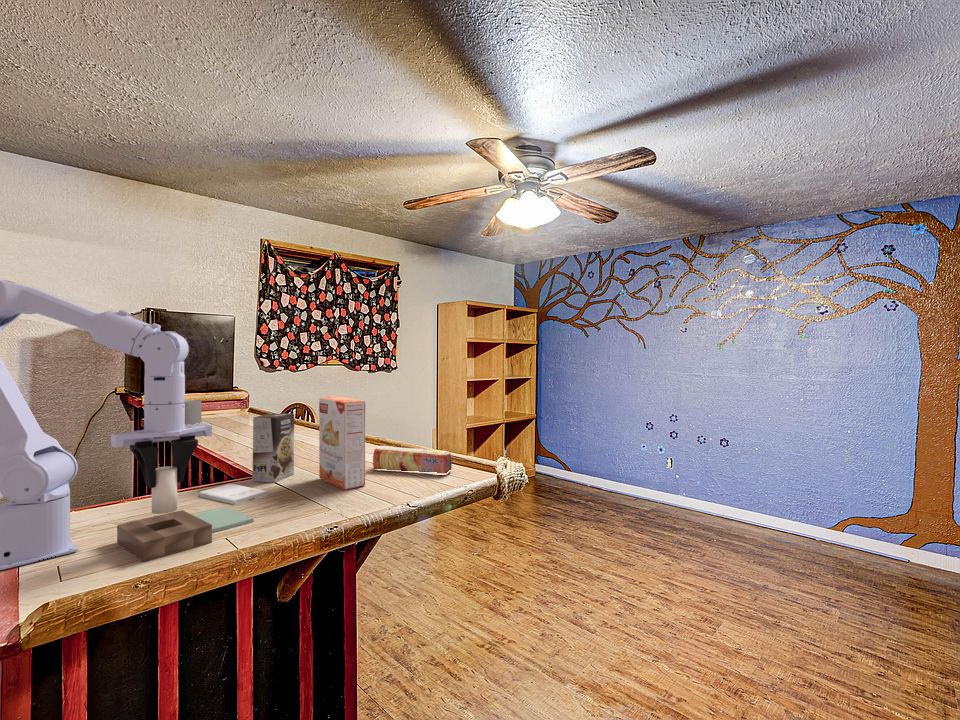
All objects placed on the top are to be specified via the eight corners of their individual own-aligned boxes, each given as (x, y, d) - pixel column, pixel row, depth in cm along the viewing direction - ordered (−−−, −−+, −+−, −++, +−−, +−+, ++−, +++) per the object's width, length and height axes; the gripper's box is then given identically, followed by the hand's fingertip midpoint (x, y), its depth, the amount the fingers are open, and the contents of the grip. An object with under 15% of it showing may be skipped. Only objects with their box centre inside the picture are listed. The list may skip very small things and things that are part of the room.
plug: (157, 515, 80) (157, 472, 80) (148, 511, 82) (148, 469, 82) (180, 509, 83) (181, 468, 82) (171, 505, 85) (171, 465, 85)
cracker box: (317, 479, 124) (318, 396, 124) (339, 475, 128) (340, 395, 128) (342, 491, 114) (343, 401, 113) (366, 486, 118) (366, 399, 117)
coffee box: (275, 483, 120) (275, 417, 120) (251, 481, 121) (251, 416, 121) (295, 474, 129) (295, 413, 129) (272, 472, 130) (272, 412, 130)
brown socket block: (143, 561, 75) (143, 542, 75) (117, 542, 82) (117, 524, 82) (211, 542, 83) (212, 524, 82) (182, 526, 90) (182, 510, 90)
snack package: (453, 472, 134) (453, 447, 133) (445, 478, 127) (445, 452, 127) (381, 467, 139) (381, 443, 139) (370, 472, 132) (370, 447, 132)
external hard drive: (232, 489, 116) (268, 497, 110) (198, 499, 109) (235, 507, 103) (232, 483, 116) (268, 490, 110) (198, 491, 109) (235, 499, 103)
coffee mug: (193, 421, 222) (193, 399, 222) (206, 423, 217) (206, 400, 217) (162, 425, 211) (162, 401, 211) (174, 427, 206) (174, 403, 205)
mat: (203, 535, 86) (203, 531, 86) (177, 521, 92) (177, 518, 92) (253, 521, 93) (253, 518, 93) (226, 509, 100) (226, 506, 100)
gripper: (123, 408, 74) (122, 498, 74) (220, 401, 85) (220, 479, 86) (106, 405, 78) (105, 490, 78) (201, 399, 90) (201, 472, 90)
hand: (164, 484), depth 82 cm, fingers closed on plug, 4 cm apart
